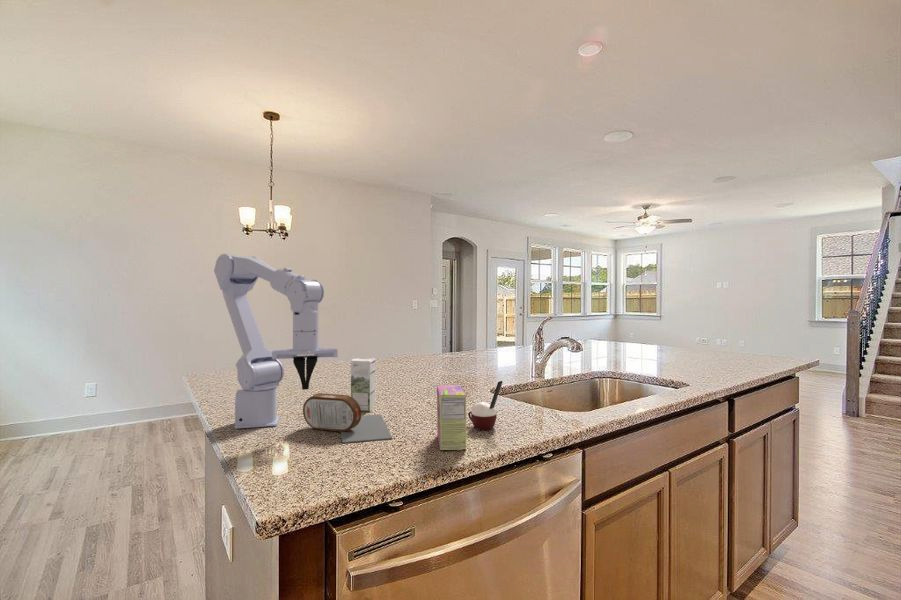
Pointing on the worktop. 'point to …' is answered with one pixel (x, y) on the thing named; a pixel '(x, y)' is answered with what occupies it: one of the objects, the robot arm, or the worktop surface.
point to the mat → (367, 430)
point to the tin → (332, 412)
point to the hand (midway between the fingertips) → (305, 388)
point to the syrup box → (363, 382)
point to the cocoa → (485, 412)
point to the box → (451, 417)
